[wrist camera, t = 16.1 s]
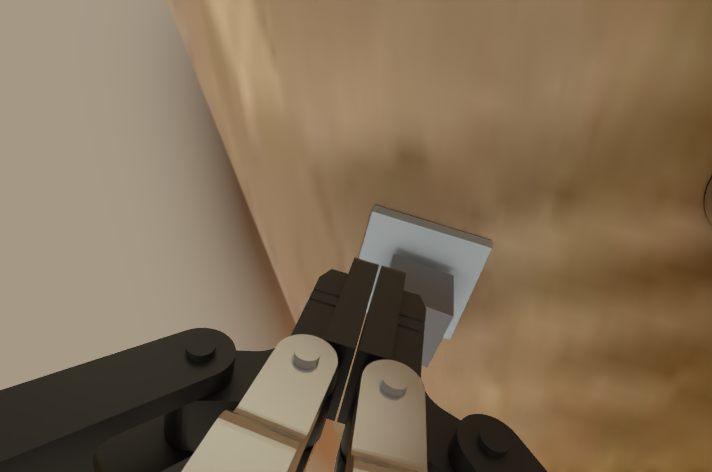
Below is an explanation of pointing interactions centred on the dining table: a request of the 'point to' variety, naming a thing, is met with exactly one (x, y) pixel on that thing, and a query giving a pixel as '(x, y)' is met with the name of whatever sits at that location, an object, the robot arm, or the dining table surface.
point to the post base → (427, 251)
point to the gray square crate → (429, 299)
